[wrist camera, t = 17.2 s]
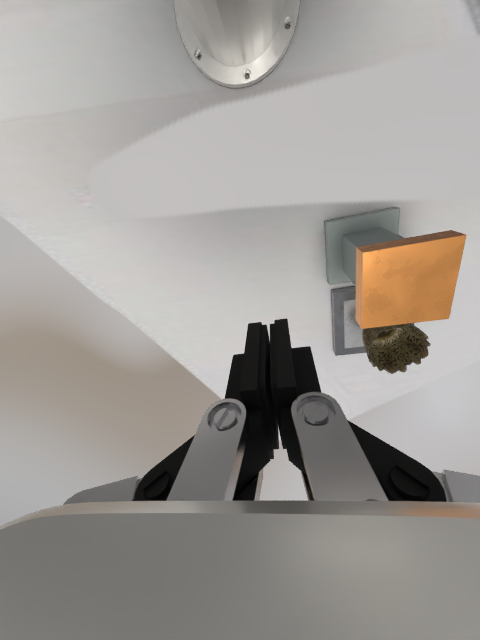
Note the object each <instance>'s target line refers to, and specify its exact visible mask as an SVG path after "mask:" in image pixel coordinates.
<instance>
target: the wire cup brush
mask: <svg viewBox="0 0 480 640" xmlns="http://www.w3.org/2000/svg"><path fill="white" fill-rule="evenodd" d="M362 339H363V343H364V347H365V350H366V352H367V355H368V359H369V361H370V363H371V364H372V365H373V367H376V366H377V367H378V369H379V371H382V370H383V369H384V370H386V371H387V372H389V373H391V374H393V373H395V372H397V371H398V370H399V371H401V372H406V370H407V367H406V368H405V366H406V365H410V364H411V363H412V362H414V363H415V364H420V363H421V359H422V358H425V357H427V356H428V349H427V346H428V347H429V346H430V343H429V342H428V341H427V340H426V339H428V336H427V335H426V334H424V332H422V331H421V330H420V329H418V328H417V327H416V326H414V325H413V324H412V323H407V324H399V325H391V326H382V327H374V328H366V329H363V332H362Z"/></svg>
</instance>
